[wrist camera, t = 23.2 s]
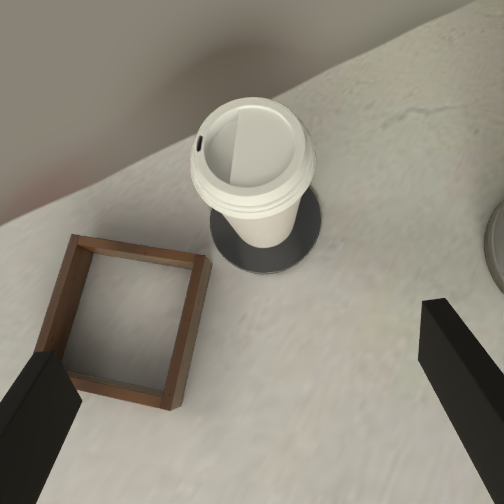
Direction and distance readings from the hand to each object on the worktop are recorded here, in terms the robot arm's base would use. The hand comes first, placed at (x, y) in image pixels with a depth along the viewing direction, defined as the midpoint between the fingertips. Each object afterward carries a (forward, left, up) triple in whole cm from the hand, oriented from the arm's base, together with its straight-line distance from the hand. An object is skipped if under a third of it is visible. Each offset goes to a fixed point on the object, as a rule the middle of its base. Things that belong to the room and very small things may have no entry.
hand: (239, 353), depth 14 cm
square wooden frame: (+15, -1, -25) cm, 29 cm away
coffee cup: (+3, -14, -25) cm, 29 cm away
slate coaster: (+3, -14, -25) cm, 29 cm away
